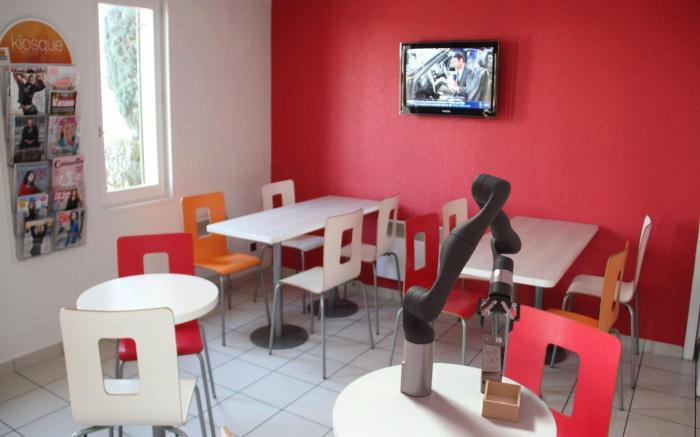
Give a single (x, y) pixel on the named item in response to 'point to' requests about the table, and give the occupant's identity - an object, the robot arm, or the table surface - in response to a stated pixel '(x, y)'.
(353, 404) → the table surface
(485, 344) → the coffee box
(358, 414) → the table surface
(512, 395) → the open box
